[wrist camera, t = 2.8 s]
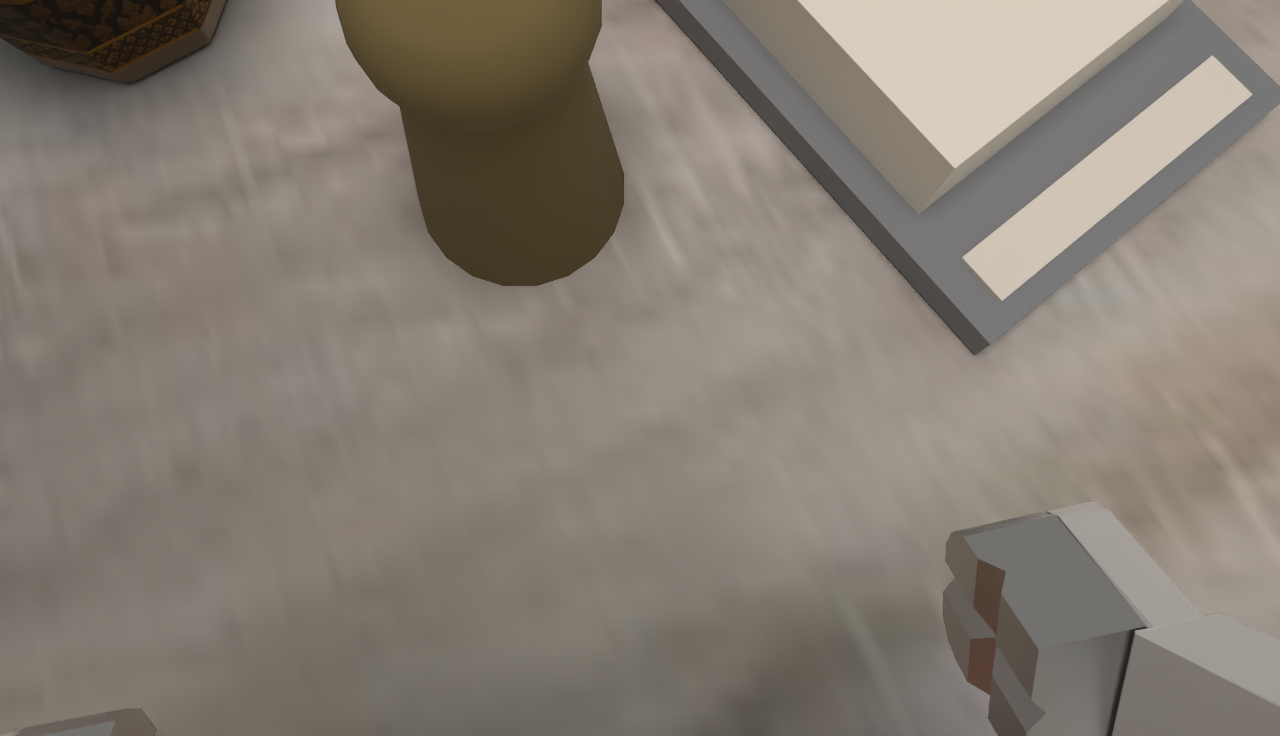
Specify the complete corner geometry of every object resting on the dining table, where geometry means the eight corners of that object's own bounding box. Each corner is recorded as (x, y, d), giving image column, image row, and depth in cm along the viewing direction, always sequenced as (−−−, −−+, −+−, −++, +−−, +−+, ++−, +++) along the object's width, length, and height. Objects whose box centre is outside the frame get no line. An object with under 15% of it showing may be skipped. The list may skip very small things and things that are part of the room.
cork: (640, 270, 27) (649, 65, 16) (431, 301, 27) (300, 114, 16) (608, 82, 28) (597, -221, 18) (408, 110, 28) (274, -182, 17)
